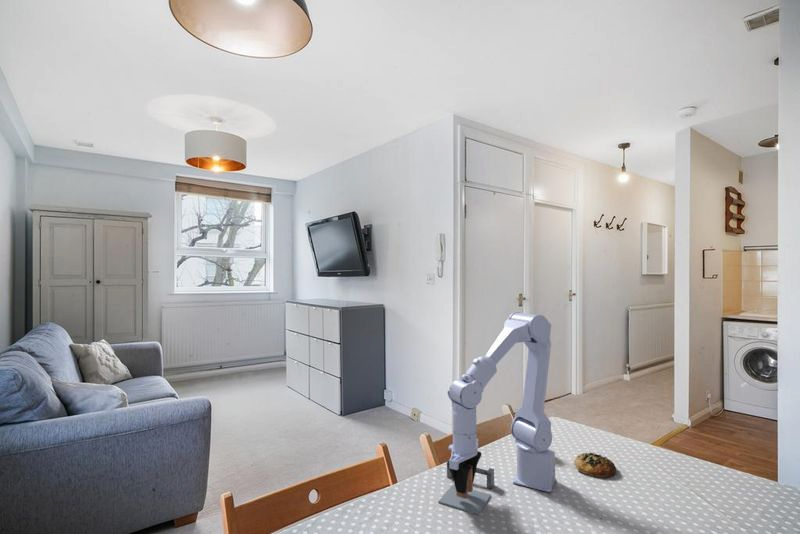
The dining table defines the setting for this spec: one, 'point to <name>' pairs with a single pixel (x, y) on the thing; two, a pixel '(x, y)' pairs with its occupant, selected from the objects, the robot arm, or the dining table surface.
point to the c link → (469, 485)
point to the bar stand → (481, 471)
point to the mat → (465, 500)
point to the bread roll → (594, 465)
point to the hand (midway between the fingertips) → (464, 487)
